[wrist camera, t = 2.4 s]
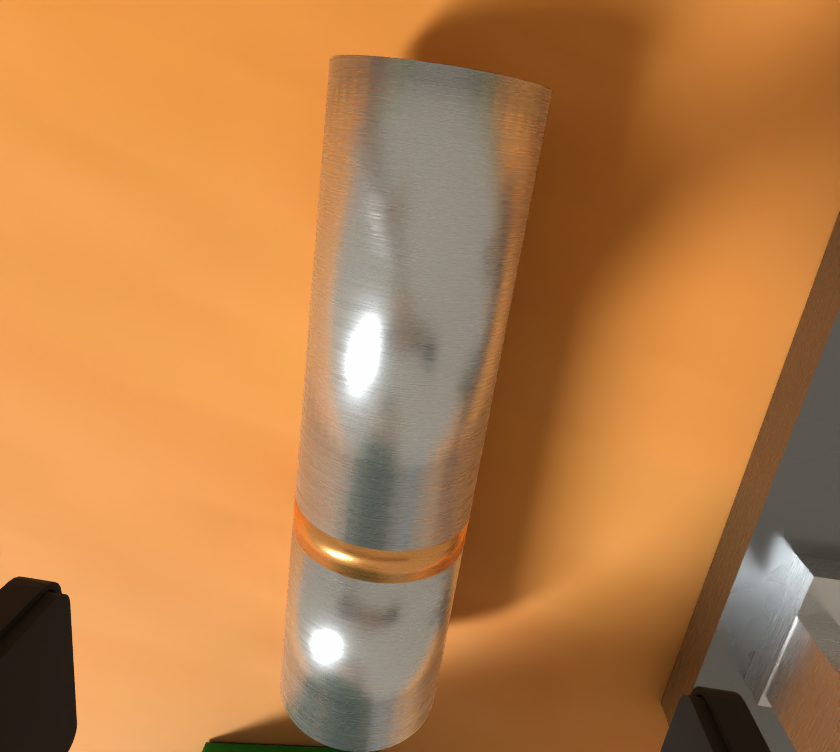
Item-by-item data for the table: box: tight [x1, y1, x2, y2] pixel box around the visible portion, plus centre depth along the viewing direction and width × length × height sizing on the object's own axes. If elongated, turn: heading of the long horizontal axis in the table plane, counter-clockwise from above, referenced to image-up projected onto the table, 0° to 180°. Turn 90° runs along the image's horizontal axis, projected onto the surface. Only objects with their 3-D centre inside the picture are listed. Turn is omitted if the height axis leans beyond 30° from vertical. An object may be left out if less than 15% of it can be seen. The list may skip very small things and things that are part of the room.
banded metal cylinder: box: [280, 55, 552, 752], centre depth 17 cm, size 18×5×5 cm, turn 172°
